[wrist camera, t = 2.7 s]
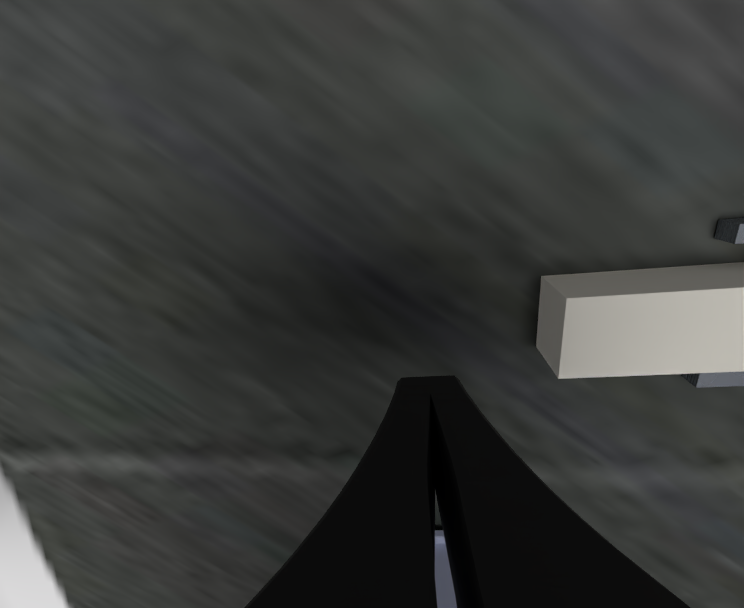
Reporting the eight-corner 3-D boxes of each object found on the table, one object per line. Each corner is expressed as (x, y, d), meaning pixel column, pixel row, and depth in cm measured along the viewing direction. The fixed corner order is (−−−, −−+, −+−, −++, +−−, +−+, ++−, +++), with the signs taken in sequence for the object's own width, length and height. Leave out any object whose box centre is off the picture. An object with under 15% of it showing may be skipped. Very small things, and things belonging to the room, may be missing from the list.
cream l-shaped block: (535, 350, 14) (576, 411, 11) (541, 270, 13) (589, 310, 9) (837, 335, 13) (988, 399, 10) (874, 246, 12) (1061, 283, 8)
